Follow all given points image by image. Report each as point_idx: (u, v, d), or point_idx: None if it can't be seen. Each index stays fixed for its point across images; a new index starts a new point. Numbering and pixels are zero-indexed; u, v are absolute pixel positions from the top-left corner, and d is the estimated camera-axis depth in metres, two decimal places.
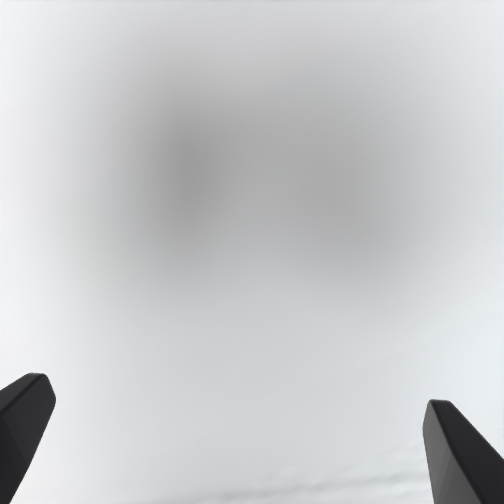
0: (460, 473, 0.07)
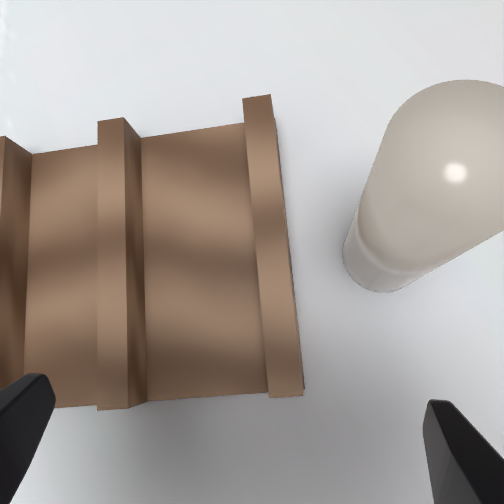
0: (460, 473, 0.07)
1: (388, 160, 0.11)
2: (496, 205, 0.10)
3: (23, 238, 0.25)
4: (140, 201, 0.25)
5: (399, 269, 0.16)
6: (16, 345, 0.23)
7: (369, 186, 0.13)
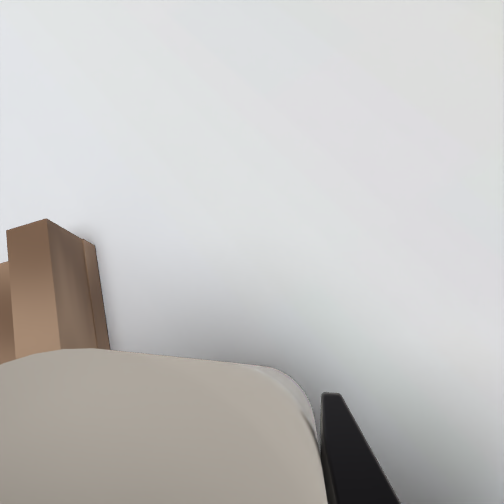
0: (326, 461, 0.07)
1: None
2: None
3: None
4: None
5: None
6: None
7: None
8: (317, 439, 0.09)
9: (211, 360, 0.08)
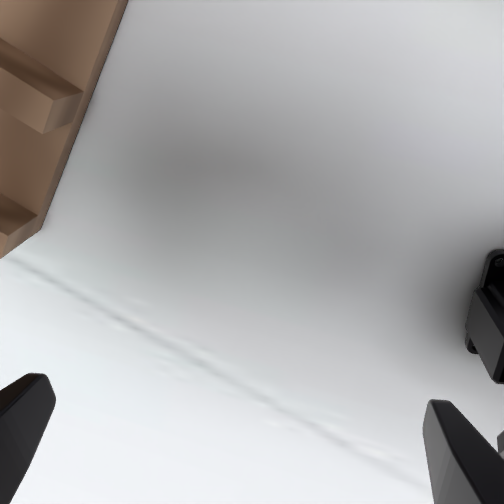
0: (460, 473, 0.07)
1: None
2: None
3: None
4: None
5: None
6: None
7: None
8: None
9: None
